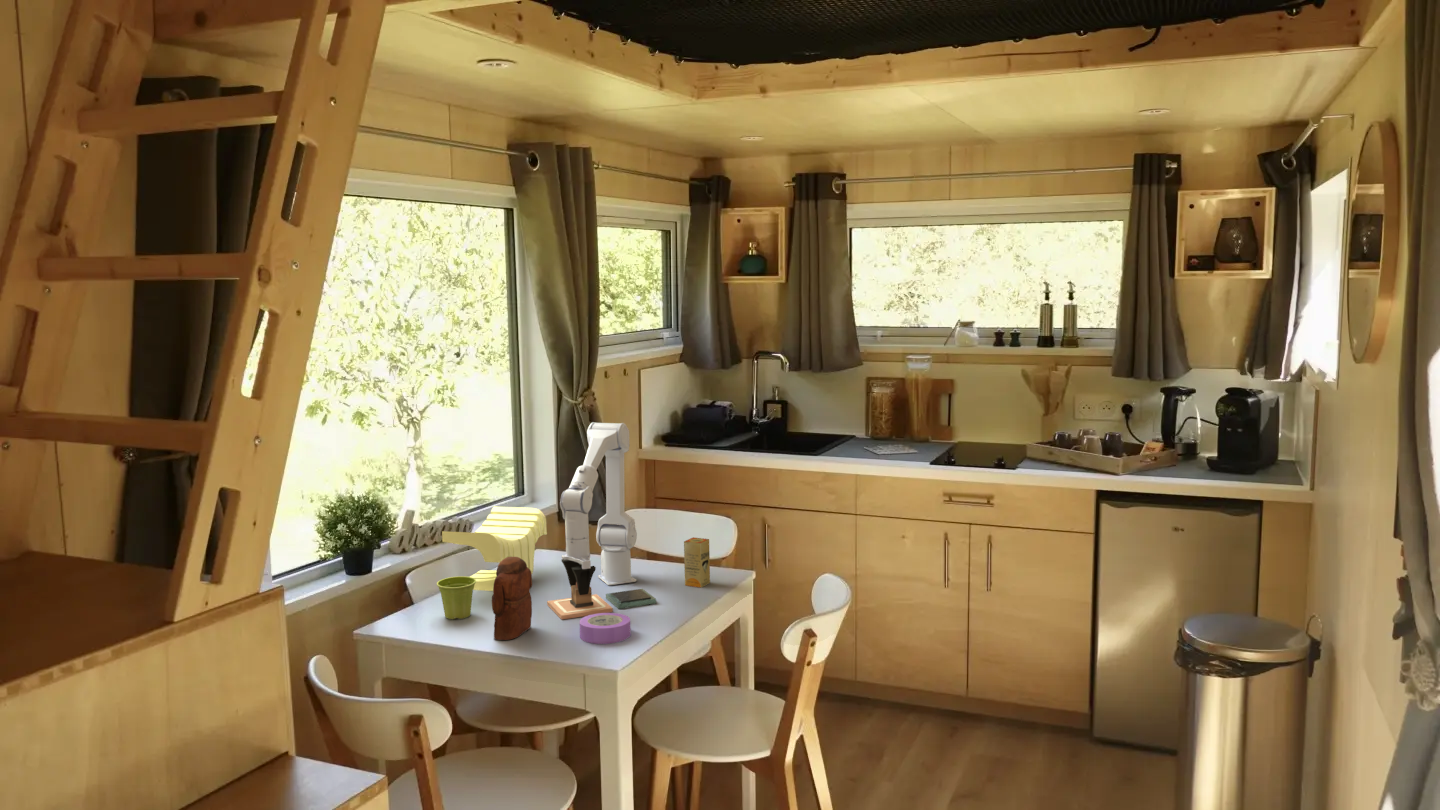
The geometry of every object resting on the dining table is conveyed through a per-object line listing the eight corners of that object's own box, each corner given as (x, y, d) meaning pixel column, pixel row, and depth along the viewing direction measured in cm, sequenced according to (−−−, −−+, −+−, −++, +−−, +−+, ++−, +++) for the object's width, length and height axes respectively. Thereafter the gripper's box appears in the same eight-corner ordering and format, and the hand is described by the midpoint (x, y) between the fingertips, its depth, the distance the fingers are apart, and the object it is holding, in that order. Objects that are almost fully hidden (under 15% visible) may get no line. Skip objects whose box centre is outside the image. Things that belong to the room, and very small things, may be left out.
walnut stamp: (570, 602, 268) (569, 578, 267) (587, 600, 270) (587, 576, 269) (575, 608, 264) (574, 583, 263) (593, 605, 266) (592, 580, 265)
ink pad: (605, 598, 275) (605, 592, 275) (642, 593, 279) (642, 587, 279) (618, 609, 266) (618, 603, 266) (656, 603, 270) (656, 597, 270)
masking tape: (605, 624, 255) (605, 609, 254) (641, 634, 247) (640, 618, 247) (569, 637, 246) (568, 621, 246) (604, 648, 239) (604, 631, 238)
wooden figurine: (511, 624, 255) (508, 550, 253) (536, 626, 254) (533, 552, 252) (488, 640, 244) (484, 563, 242) (513, 642, 242) (510, 565, 240)
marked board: (547, 604, 270) (547, 600, 270) (596, 597, 275) (596, 593, 275) (561, 619, 258) (561, 615, 258) (612, 611, 264) (612, 607, 263)
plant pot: (485, 613, 264) (484, 579, 263) (457, 624, 256) (455, 589, 255) (459, 607, 269) (457, 574, 268) (430, 618, 261) (428, 583, 260)
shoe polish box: (710, 582, 287) (709, 539, 286) (701, 587, 283) (700, 543, 282) (693, 580, 290) (693, 537, 288) (684, 585, 285) (683, 541, 284)
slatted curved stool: (502, 601, 273) (499, 533, 271) (445, 598, 277) (442, 531, 275) (548, 570, 302) (545, 508, 300) (496, 567, 306) (493, 506, 304)
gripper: (553, 532, 270) (555, 584, 271) (569, 545, 256) (571, 600, 258) (580, 529, 272) (582, 581, 274) (598, 541, 259) (599, 596, 261)
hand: (579, 590), depth 266 cm, fingers open, 7 cm apart
